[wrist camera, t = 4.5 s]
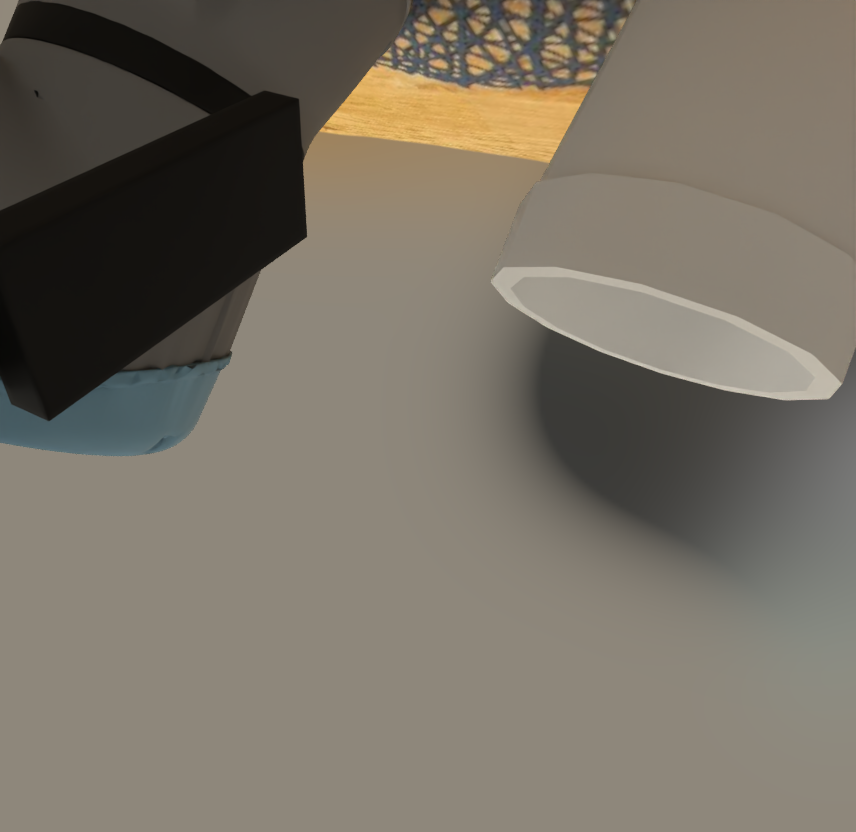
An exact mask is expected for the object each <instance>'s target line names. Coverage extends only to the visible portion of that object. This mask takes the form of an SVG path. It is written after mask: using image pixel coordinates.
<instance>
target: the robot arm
mask: <svg viewBox="0 0 856 832" xmlns="http://www.w3.org/2000/svg"><path fill="white" fill-rule="evenodd" d="M413 1H414V0H19V1H18V4H17V7H16V9H15V12H14V14H13V17H12V19H11V22H10V24H9V27H8V29H7V32H6V34H5V37H4V39H3V41H2V43H1V45H0V443H5V444H11V445H17V446H23V447H29V448H36V449H42V450H50V451H57V452H66V453H75V454H86V455H103V456H134V455H143V454H150V453H155V452H160V451H163V450H166V449H168V448H171V447H173V446H175V445H177V444H178V443H179V442H181V441H182V440H183V439H185V438H186V437H187V436H188V435H189V434H190V433H191V431H192V430H193V429H194V427H195V425H196V424H197V422H198V420H199V418H200V415H201V413H202V411H203V409H204V406H205V404H206V402H207V400H208V397H209V395H210V393H211V391H212V389H213V386H214V384H215V382H216V380H217V377H218V375H219V373H220V371H221V370H222V369H224V368H225V367H226V365H228V364H229V362H230V359H231V355H232V352H231V351H230V349H231V347H232V344H233V341H234V339H235V336H236V333H237V331H238V328H239V326H240V323H241V321H242V318H243V315H244V313H245V310H246V308H247V305H248V302H249V299H250V297H251V295H252V292H253V289H254V286H255V284H256V281H257V279H258V276H259V274H260V271H261V269H263V268H264V267H266V266H267V265H268V264H269V263H271V262H273V261H274V260H275V259H276V258H278V257H279V256H281V255H282V254H284V253H285V252H286V251H288V250H289V249H291V248H292V247H293V246H295V245H296V244H298V243H299V242H300V241H302V240H303V239H305V238H306V237H307V229H306V212H305V194H304V176H303V160H304V157H305V155H306V153H307V150H308V148H309V145H310V144H311V142H312V140H313V138H314V137H315V135H316V134H317V133H318V132H319V130H320V129H321V128H322V127H323V126H324V125H325V123H326V122H327V121H328V120H329V119H330V117H331V116H332V115H333V114H334V113H335V112H336V110H337V109H338V108H339V107H340V106H341V104H342V103H343V102H344V101H345V100H346V98H347V97H348V96H349V95H350V94H351V92H352V91H353V90H354V89H355V87H356V86H357V85H358V84H359V82H360V81H361V80H362V79H363V77H364V76H365V75H366V73H367V72H368V71H369V69H370V68H371V67H372V66H373V64H374V63H375V62H376V60H377V59H378V58H379V57H380V56H382V55H383V54H384V53H385V52H386V51H387V50H388V49H389V48H390V47H391V45H392V44H393V42H394V41H395V39H396V37H397V35H398V33H399V31H400V30H401V29H402V27H403V26H404V23H405V21H406V18H407V16H408V13H409V11H410V8H411V6H412V3H413Z"/></svg>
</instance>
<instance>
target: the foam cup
mask: <svg viewBox="0 0 856 832" xmlns="http://www.w3.org/2000/svg"><path fill="white" fill-rule="evenodd" d="M490 282H491V283H492V284H493V285H494V287H495V288H496V289H497V290H498V292H499V293H500V294H501V295H502V296H503V297H504V299H505V300H506V301H507V302H508V303H509V304H510V305H512V306H514V307H515V308H517V309H519V310H520V311H522V312H523V313H525V314H526V315H528V316H530V317H531V318H533V319H535V320H536V321H538V322H540V323H541V324H542V325H544V326H546V327H547V328H549V329H552V330H554V331H556V332H558V333H561V334H563V335H565V336H567V337H569V338H572V339H574V340H576V341H578V342H580V343H582V344H585V345H587V346H589V347H591V348H593V349H596V350H598V351H600V352H603V353H606V354H609V355H611V356H614V357H617V358H620V359H622V360H625V361H628V362H631V363H634V364H637V365H639V366H643V367H645V368H648V369H651V370H654V371H656V372H659V373H662V374H666V375H669V376H673V377H677V378H681V379H684V380H689V381H692V382H696V383H700V384H703V385H707V386H711V387H714V388H718V389H722V390H726V391H732V392H738V393H744V394H750V395H756V396H762V397H768V398H774V399H781V400H810V399H829V398H830V397H831V396H832V395H833V393H834V392H835V391H836V390H837V389H838V388H839V386H841V384H842V383H843V380H844V377H845V375H846V372H847V369H848V367H849V364H850V361H851V359H852V356H853V353H854V351H855V348H856V0H637V1H636V3H635V5H634V7H633V8H632V10H631V12H630V14H629V16H628V18H627V20H626V21H625V23H624V25H623V27H622V29H621V31H620V33H619V35H618V36H617V38H616V40H615V42H614V44H613V46H612V48H611V49H610V51H609V53H608V55H607V57H606V59H605V61H604V62H603V64H602V66H601V68H600V70H599V72H598V74H597V76H596V77H595V79H594V81H593V83H592V85H591V87H590V89H589V90H588V92H587V94H586V96H585V98H584V100H583V102H582V104H581V105H580V107H579V109H578V111H577V113H576V115H575V117H574V118H573V120H572V122H571V124H570V126H569V128H568V130H567V131H566V133H565V135H564V137H563V139H562V141H561V143H560V145H559V146H558V148H557V150H556V152H555V154H554V156H553V158H552V159H551V161H550V163H549V165H548V167H547V169H546V171H545V173H544V174H543V176H542V178H541V180H540V181H538V182H536V183H535V185H534V186H533V187H532V188H531V190H530V191H529V192H528V194H527V195H526V196H525V198H524V199H523V200H522V202H521V203H520V205H519V207H518V210H517V213H516V215H515V218H514V221H513V223H512V226H511V228H510V231H509V234H508V236H507V239H506V241H505V244H504V247H503V249H502V252H501V254H500V257H499V260H498V262H497V265H496V268H495V270H494V273H493V275H492V278H491V281H490Z"/></svg>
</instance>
